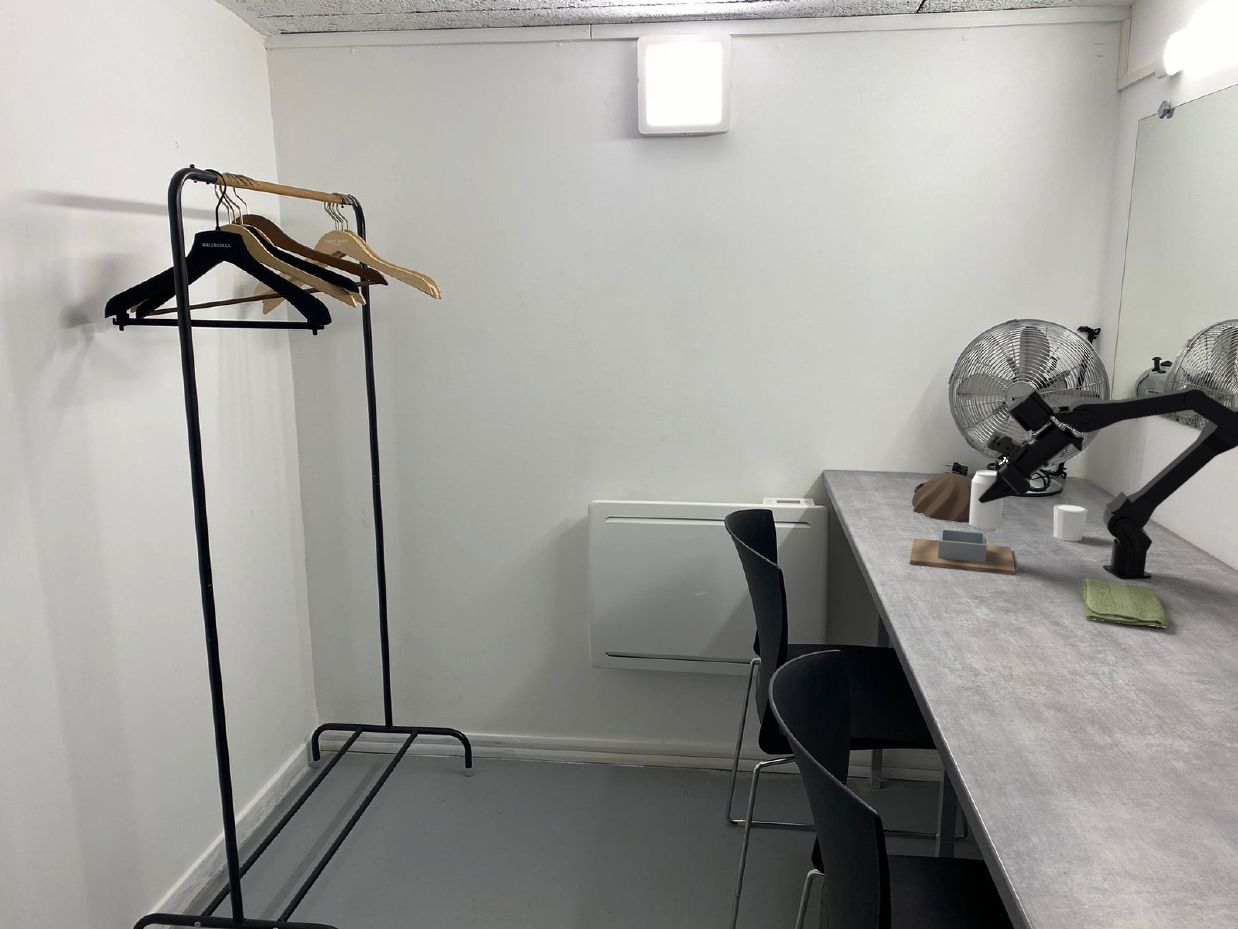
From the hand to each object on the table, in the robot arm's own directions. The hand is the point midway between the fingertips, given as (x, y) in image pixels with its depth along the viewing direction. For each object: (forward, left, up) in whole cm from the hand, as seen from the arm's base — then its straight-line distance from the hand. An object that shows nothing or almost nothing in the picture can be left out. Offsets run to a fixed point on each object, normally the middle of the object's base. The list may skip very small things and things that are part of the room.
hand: (979, 497), depth 185 cm
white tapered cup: (+14, -27, -14) cm, 33 cm away
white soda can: (-1, -1, -7) cm, 7 cm away
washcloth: (-29, -15, -14) cm, 35 cm away
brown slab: (+1, +2, -13) cm, 14 cm away
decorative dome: (+37, -9, -14) cm, 41 cm away
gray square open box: (+1, +2, -13) cm, 14 cm away
